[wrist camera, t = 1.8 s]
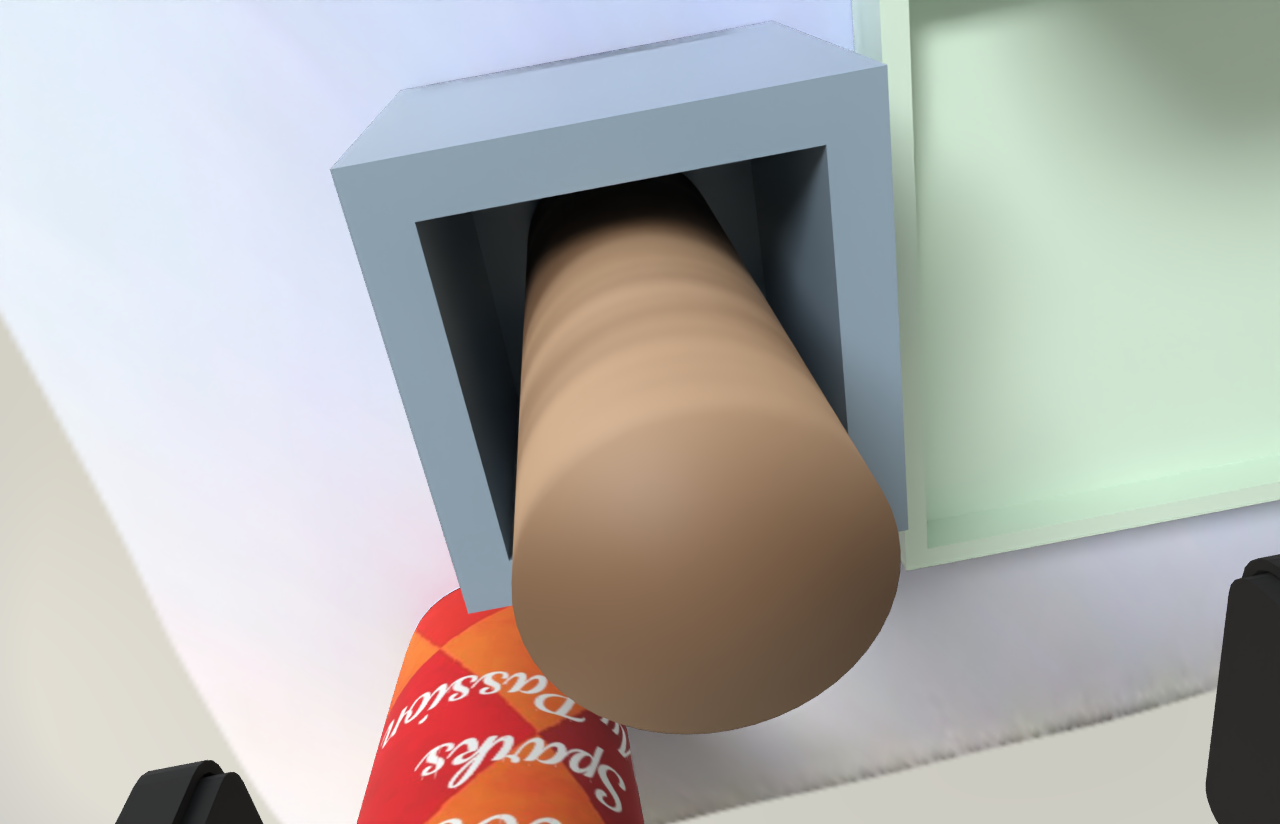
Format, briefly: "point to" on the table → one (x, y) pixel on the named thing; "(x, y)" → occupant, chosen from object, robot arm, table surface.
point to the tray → (1082, 263)
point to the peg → (681, 477)
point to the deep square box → (607, 155)
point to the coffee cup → (492, 735)
